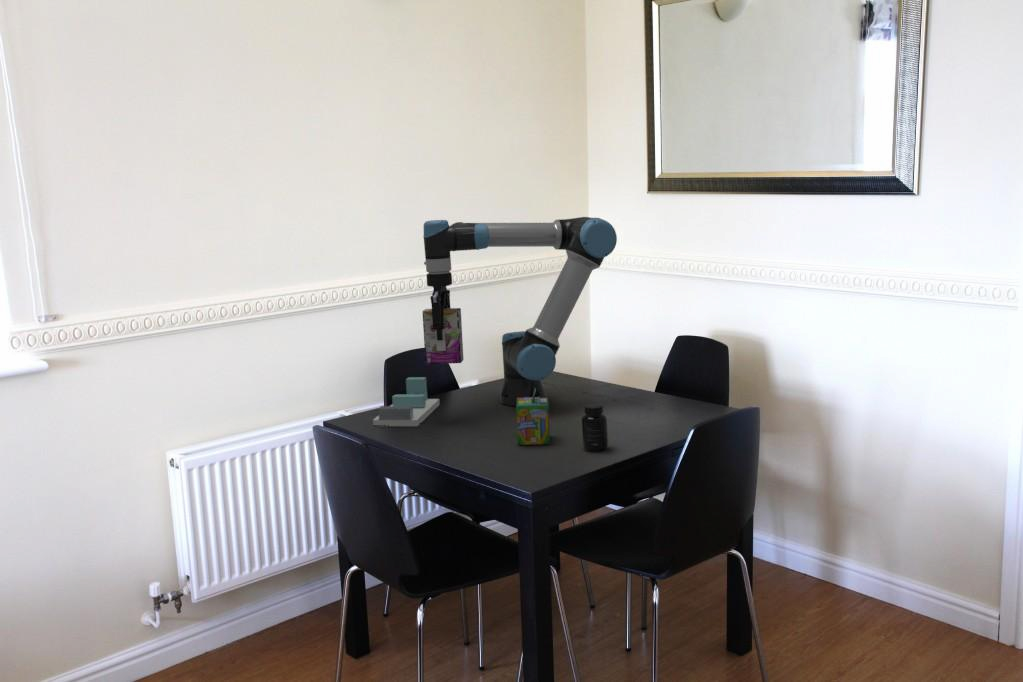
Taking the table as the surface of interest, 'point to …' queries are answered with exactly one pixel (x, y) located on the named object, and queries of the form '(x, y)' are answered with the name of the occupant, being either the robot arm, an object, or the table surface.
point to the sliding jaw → (412, 393)
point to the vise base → (416, 415)
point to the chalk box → (533, 420)
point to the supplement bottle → (594, 429)
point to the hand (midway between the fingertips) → (444, 348)
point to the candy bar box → (451, 336)
